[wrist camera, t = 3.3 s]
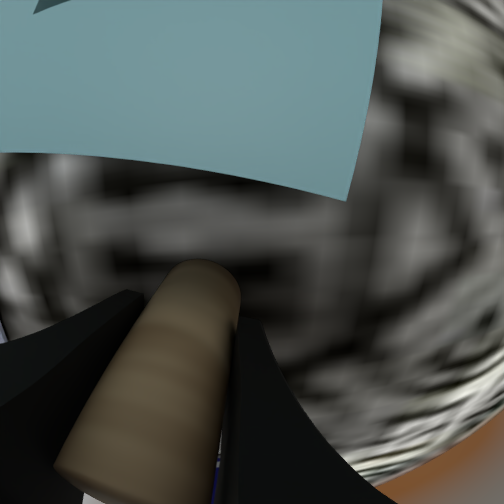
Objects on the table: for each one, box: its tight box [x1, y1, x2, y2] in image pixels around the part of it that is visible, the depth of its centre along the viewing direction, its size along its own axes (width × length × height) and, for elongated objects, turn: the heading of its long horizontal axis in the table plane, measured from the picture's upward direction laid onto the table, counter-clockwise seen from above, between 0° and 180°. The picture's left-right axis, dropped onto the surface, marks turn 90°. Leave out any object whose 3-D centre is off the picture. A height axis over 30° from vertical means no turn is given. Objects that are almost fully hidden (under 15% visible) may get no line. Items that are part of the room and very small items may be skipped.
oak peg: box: [53, 259, 241, 504], centre depth 7 cm, size 3×3×8 cm
